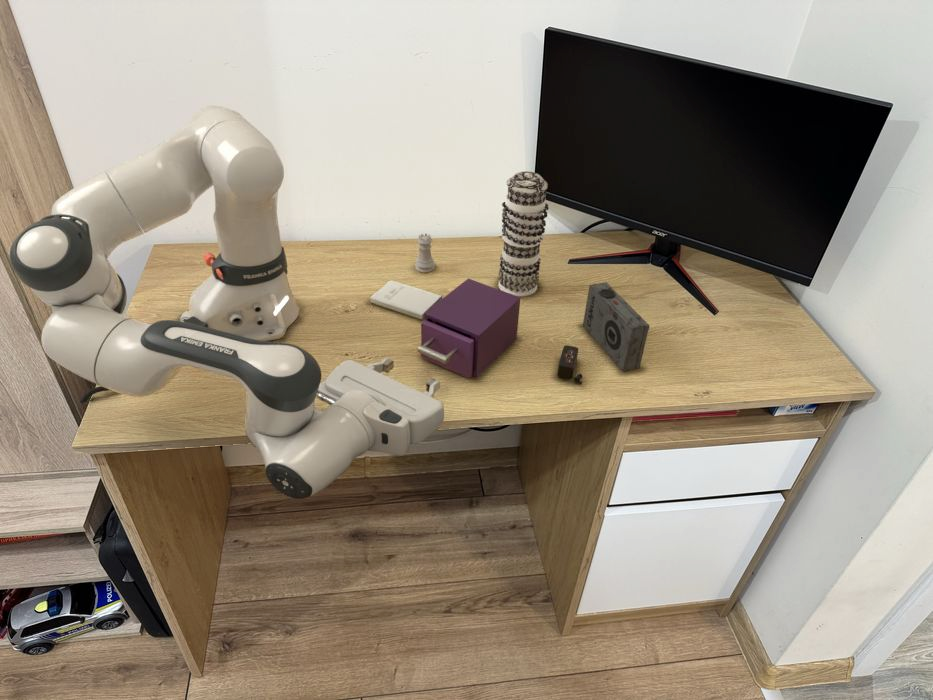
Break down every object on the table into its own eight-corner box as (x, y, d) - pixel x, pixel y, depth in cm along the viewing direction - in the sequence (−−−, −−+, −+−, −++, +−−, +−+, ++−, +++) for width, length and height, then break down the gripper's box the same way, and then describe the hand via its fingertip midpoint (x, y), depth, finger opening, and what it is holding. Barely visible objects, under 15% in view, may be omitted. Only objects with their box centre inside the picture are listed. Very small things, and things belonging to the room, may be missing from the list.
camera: (579, 323, 140) (586, 281, 134) (596, 320, 142) (604, 277, 136) (621, 372, 128) (631, 328, 122) (640, 368, 130) (650, 324, 124)
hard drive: (422, 321, 139) (370, 303, 144) (442, 301, 145) (391, 285, 149) (422, 314, 138) (369, 296, 143) (442, 295, 144) (391, 278, 148)
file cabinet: (476, 378, 126) (478, 335, 120) (423, 355, 130) (423, 313, 125) (516, 339, 136) (520, 297, 130) (466, 319, 140) (468, 278, 135)
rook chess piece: (411, 265, 156) (411, 233, 151) (430, 261, 158) (430, 230, 153) (419, 275, 153) (419, 242, 148) (438, 271, 155) (438, 239, 150)
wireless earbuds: (555, 381, 126) (557, 367, 124) (562, 358, 131) (564, 344, 129) (581, 386, 125) (583, 372, 123) (586, 363, 130) (589, 349, 128)
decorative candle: (535, 300, 147) (547, 189, 131) (492, 293, 148) (499, 182, 133) (542, 278, 154) (555, 170, 138) (501, 271, 155) (510, 164, 140)
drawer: (455, 391, 121) (456, 355, 117) (407, 369, 126) (406, 334, 121) (507, 341, 133) (510, 307, 129) (461, 323, 138) (462, 289, 133)
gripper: (310, 408, 114) (365, 364, 123) (412, 460, 105) (462, 409, 115) (306, 378, 110) (363, 335, 119) (411, 430, 101) (463, 380, 111)
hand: (412, 372), depth 117 cm, fingers open, 8 cm apart
